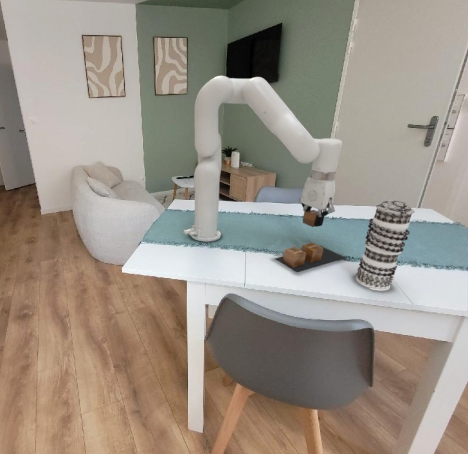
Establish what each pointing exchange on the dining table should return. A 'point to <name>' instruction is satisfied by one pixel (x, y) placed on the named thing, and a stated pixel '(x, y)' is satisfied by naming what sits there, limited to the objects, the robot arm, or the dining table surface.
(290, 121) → the robot arm
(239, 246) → the dining table surface
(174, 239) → the dining table surface
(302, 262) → the brown wooden cube
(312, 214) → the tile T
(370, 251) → the decorative candle
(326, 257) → the word mat
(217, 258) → the dining table surface
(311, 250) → the brown cube
